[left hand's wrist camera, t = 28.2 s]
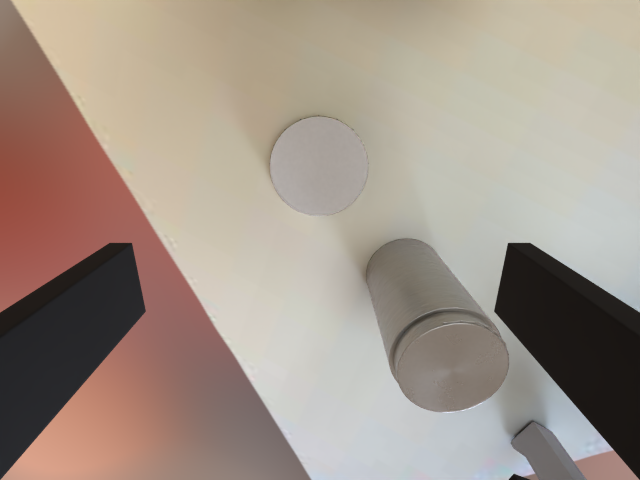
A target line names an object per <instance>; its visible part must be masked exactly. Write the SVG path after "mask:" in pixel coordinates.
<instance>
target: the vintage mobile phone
mask: <svg viewBox="0 0 640 480" xmlns="http://www.w3.org/2000/svg"><path fill="white" fill-rule="evenodd" d="M511 444H512V446H513V448H514V449H515V450H517V451H518V452H519V453H521V454H522V455H524V456H525V457H526V458H527V460H528V462H529V463H530V465H531V467H532V468H533V470H534V472H535V474H536V475H537V477H538V479H539V480H586V478H585V477H584V475H583V474H582V473H581V471H580V470H579V468H578V467H577V466H576V464H575V463H574V461H573V460H572V459H571V457H570V456H569V455H568V453H567V452H566V450H565V449H564V448H563V446H562V445H561V443H560V442H559V441H558V439H557V438H556V436H555V435H554V434H553V432H551V431H550V430H548V429H546V428H544V427H542V426H540V425H539V424H537V423H535V422H532V423H531V424H530V425H528V426H527V427H526V428H525V429H524V430H523V431H522V432H521V433H520V434H518V435H517V436H516V437H515V438H514V439H513V440H512V441H511Z"/></svg>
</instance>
